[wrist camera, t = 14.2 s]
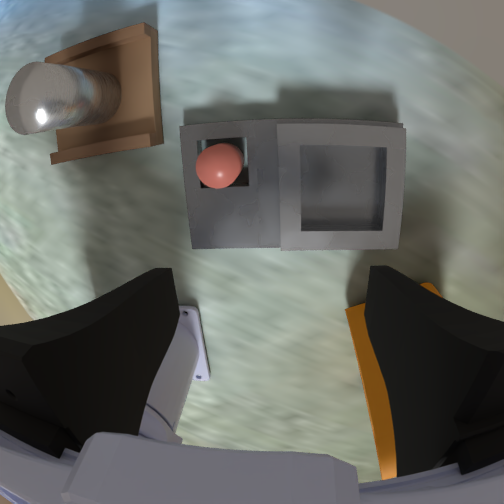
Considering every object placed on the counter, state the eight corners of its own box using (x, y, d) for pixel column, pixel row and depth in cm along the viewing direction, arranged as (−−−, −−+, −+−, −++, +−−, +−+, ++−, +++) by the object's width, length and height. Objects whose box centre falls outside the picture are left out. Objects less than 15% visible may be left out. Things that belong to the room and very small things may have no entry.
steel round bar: (82, 131, 17) (11, 145, 11) (73, 84, 16) (2, 82, 10) (126, 114, 17) (59, 117, 11) (116, 64, 16) (49, 49, 9)
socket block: (196, 243, 21) (187, 256, 19) (184, 125, 18) (173, 126, 16) (391, 240, 20) (401, 253, 18) (397, 123, 17) (410, 124, 15)
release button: (207, 181, 19) (197, 189, 17) (204, 144, 18) (194, 147, 16) (245, 179, 19) (240, 187, 17) (243, 141, 18) (237, 144, 16)
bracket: (433, 367, 25) (474, 467, 14) (363, 390, 26) (384, 500, 15) (430, 273, 21) (509, 385, 10) (343, 303, 22) (376, 439, 11)
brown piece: (69, 159, 20) (51, 164, 18) (62, 60, 16) (44, 58, 14) (163, 143, 19) (150, 146, 17) (157, 30, 16) (144, 22, 14)
